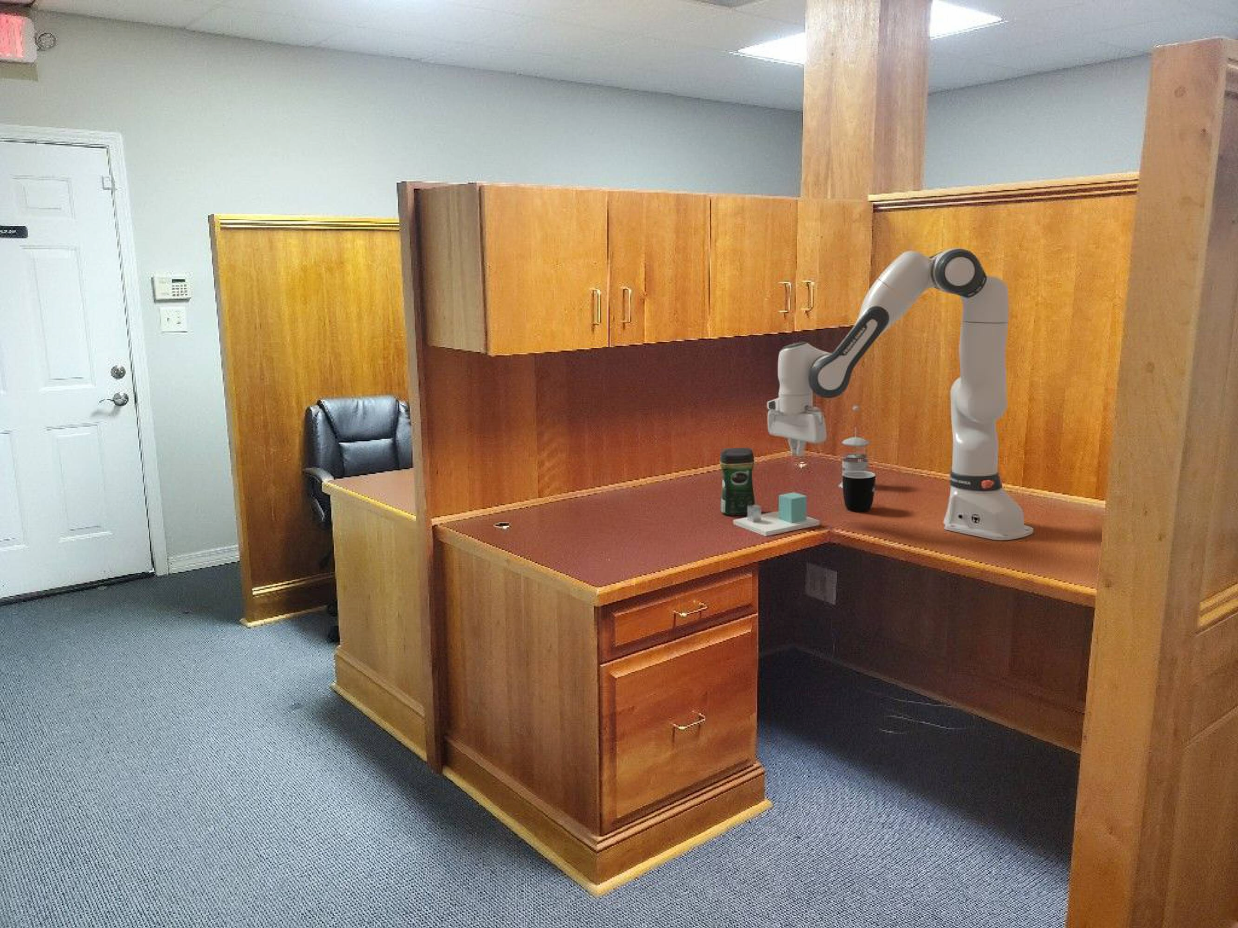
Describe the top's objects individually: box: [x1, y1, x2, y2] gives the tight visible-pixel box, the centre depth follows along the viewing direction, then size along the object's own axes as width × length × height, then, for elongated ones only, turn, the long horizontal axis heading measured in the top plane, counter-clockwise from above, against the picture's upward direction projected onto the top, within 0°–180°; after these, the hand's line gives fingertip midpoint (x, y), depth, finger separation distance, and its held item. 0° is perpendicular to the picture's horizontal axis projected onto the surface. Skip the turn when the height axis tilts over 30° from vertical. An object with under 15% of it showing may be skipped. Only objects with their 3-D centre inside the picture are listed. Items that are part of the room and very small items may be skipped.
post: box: [746, 504, 762, 523], centre depth 261 cm, size 3×3×4 cm
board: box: [732, 510, 820, 537], centre depth 261 cm, size 14×18×1 cm
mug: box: [841, 470, 876, 513], centre depth 274 cm, size 12×9×10 cm
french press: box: [838, 405, 870, 489], centre depth 298 cm, size 10×12×25 cm
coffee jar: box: [719, 447, 756, 516], centre depth 272 cm, size 10×8×19 cm
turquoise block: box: [778, 491, 808, 523], centre depth 260 cm, size 5×5×7 cm
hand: (797, 455), depth 260 cm, fingers closed
